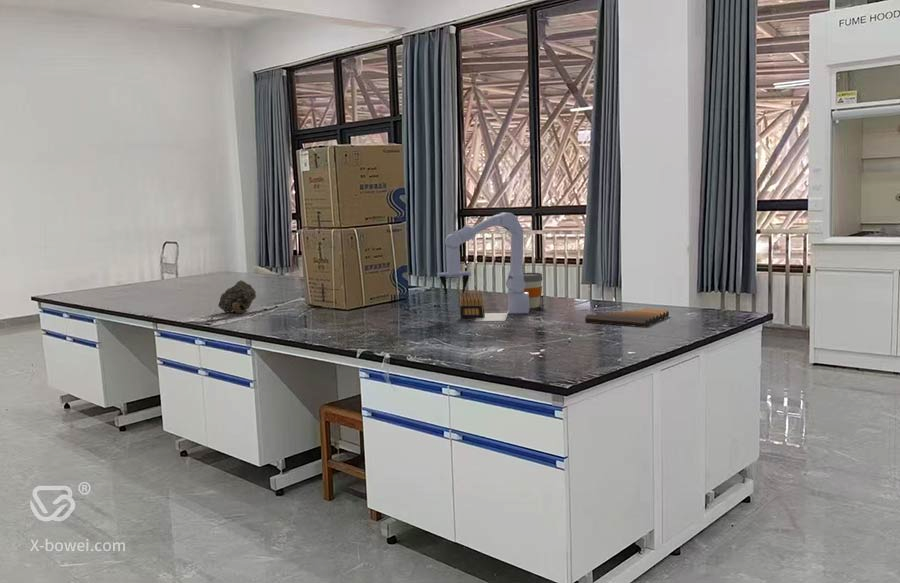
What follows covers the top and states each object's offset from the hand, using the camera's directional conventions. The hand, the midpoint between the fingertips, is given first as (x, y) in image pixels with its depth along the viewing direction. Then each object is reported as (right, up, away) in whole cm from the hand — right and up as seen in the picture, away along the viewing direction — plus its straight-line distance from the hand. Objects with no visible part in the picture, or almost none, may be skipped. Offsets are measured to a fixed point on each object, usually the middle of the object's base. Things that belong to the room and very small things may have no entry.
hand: (454, 293), depth 319 cm
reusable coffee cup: (+34, -6, +21) cm, 41 cm away
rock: (-105, -9, +41) cm, 113 cm away
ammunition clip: (+8, -10, -2) cm, 13 cm away
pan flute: (+69, -11, -21) cm, 73 cm away
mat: (+16, -10, -4) cm, 19 cm away
